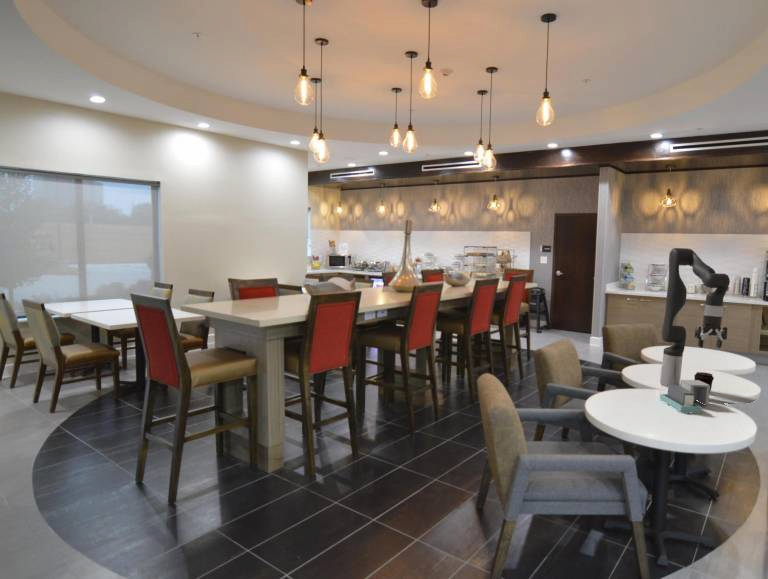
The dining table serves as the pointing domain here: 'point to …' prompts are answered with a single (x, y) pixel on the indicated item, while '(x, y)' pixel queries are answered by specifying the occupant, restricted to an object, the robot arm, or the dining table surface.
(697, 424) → the dining table surface
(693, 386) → the light grey block
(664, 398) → the tray
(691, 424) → the dining table surface
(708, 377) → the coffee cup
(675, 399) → the tall grey pillar
